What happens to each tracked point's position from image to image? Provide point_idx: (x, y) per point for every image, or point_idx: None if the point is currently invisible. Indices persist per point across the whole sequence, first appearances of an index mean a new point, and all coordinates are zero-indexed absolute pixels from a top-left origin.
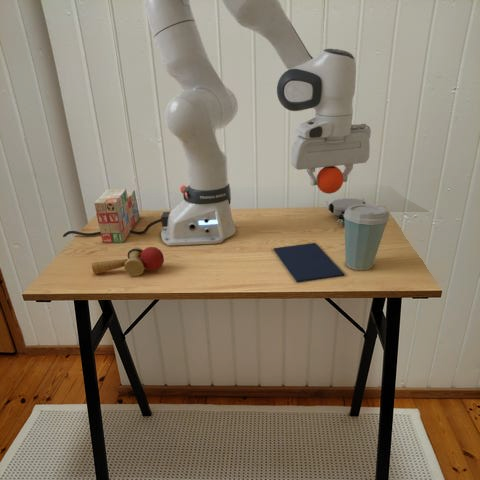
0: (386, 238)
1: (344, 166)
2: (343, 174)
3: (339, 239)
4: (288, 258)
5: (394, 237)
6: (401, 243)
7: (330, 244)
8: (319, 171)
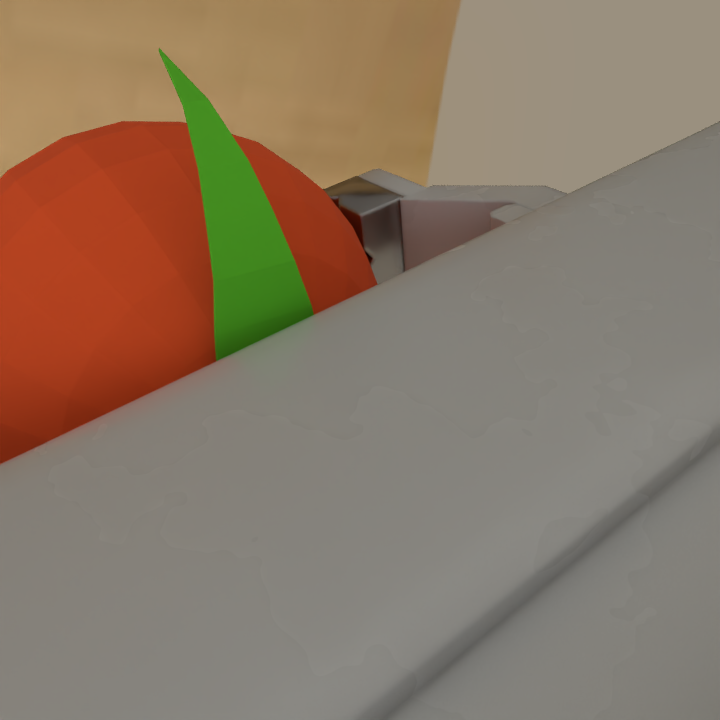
0: (385, 84)
1: (490, 216)
2: (396, 238)
3: (109, 56)
4: None
5: (424, 75)
6: (420, 162)
7: (30, 148)
8: (21, 408)
